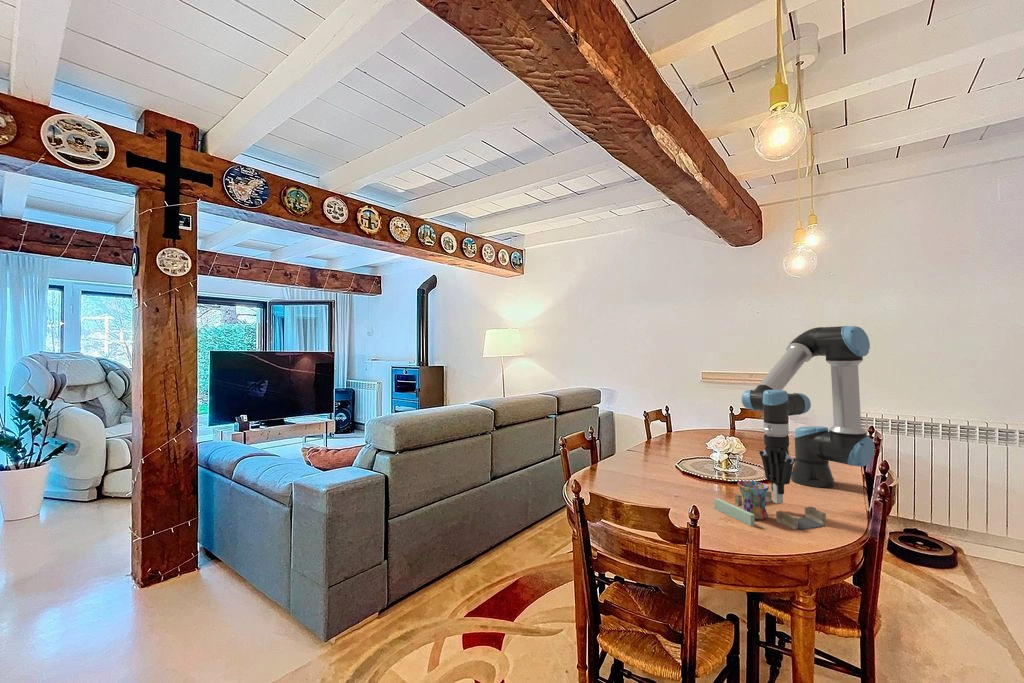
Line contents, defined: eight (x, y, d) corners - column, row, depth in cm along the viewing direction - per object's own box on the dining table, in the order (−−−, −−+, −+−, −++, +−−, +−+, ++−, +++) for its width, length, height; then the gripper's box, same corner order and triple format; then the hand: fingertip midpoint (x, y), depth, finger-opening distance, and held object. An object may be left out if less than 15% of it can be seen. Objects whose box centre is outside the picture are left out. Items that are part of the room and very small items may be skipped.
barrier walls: (768, 499, 164) (768, 490, 164) (829, 523, 142) (829, 512, 142) (735, 504, 160) (735, 494, 160) (792, 529, 137) (792, 518, 137)
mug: (767, 523, 142) (767, 490, 142) (735, 517, 147) (735, 485, 148) (772, 512, 152) (771, 481, 152) (741, 507, 157) (741, 477, 157)
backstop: (718, 508, 156) (718, 498, 156) (754, 525, 141) (754, 514, 141) (714, 508, 156) (714, 498, 156) (750, 526, 140) (750, 515, 140)
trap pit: (805, 518, 146) (805, 517, 146) (825, 526, 140) (825, 525, 140) (781, 521, 144) (781, 520, 144) (800, 530, 137) (800, 529, 137)
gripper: (752, 432, 159) (754, 497, 159) (783, 439, 146) (786, 510, 146) (769, 430, 161) (771, 495, 161) (801, 437, 149) (803, 507, 148)
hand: (778, 502), depth 154 cm, fingers closed
